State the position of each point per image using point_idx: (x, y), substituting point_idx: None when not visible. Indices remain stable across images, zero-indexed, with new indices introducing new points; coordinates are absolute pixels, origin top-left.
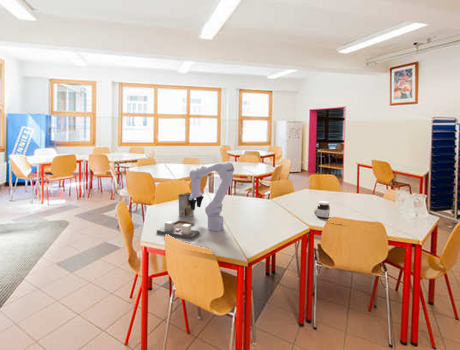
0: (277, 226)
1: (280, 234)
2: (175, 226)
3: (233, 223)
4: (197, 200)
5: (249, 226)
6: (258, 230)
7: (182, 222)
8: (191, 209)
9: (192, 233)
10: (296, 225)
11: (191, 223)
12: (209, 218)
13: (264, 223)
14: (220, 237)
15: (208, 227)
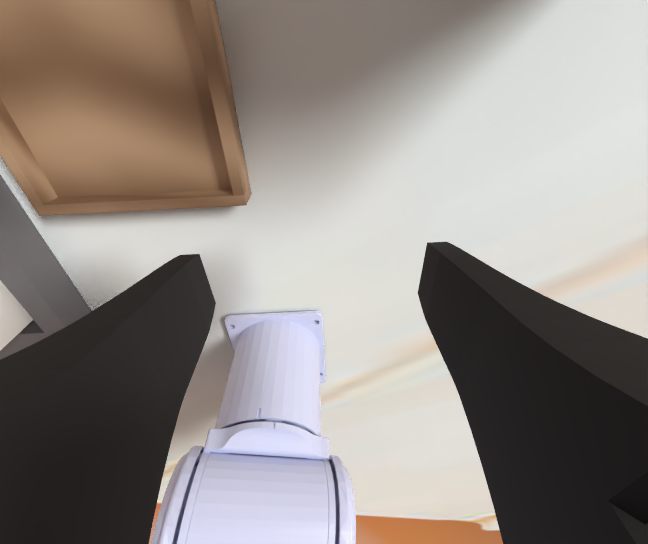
0: (444, 486)
1: (359, 503)
2: (19, 13)
3: (431, 383)
4: (507, 363)
5: (407, 438)
6: (368, 466)
7: (198, 10)
8: (176, 260)
9: (16, 346)
10: (474, 507)
11: (230, 172)
12: (216, 421)
13: (473, 459)
14: (185, 412)
15: (238, 341)
